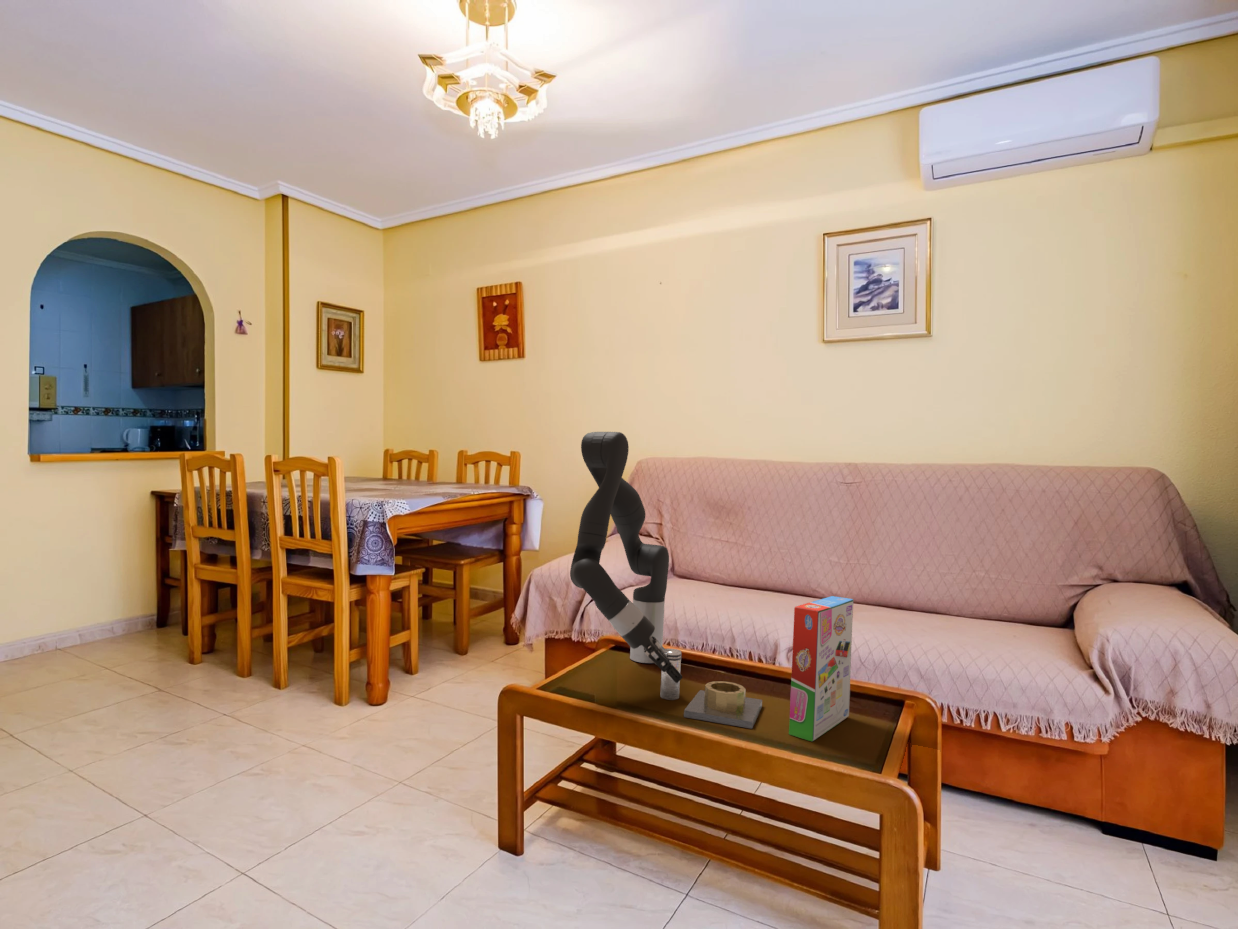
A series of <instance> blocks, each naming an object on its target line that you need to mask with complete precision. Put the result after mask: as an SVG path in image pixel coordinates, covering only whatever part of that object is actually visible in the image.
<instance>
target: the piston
mask: <svg viewBox="0 0 1238 929" xmlns="http://www.w3.org/2000/svg"><path fill="white" fill-rule="evenodd" d="M663 650H664V651H665V653H666V654H667V658H668V660H669V661H670V662H672V664H673V666H674V667H675V668H676V669H677V670H678V671H679V673H680V674H681V664H682V663H681V662H682V654H683V653H682V650H680V649H677V648H665V649H663ZM665 664H666V662H665V661H663V662H662V665H663V666H664V665H665ZM660 675H661V676H660V678H661V679H660V695H659V697H660V698H661V699H664V700H667V701H668V700H669V701H675V700H678V699H679V698H680V686H681V685H680V682H681V680H680V681H679V682H678V683H676V682H675V681H674V680H673V679H672V678H671V677H670V676H669V675H668V674H667V672H663V671H662V670H661V674H660Z"/></svg>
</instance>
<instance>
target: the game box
mask: <svg viewBox="0 0 1238 929" xmlns="http://www.w3.org/2000/svg"><path fill="white" fill-rule="evenodd" d="M793 611H794V612H793V631H792V632H793V636H792V655H791V656H792V657H791V676H790V680H791V682H790V696H789V697H790V699H789V701H790V702H789V720H788V721H789V722H788V723H789V724H788V735H789V736H792V737H796V738H799V739H802V740H805V741H808V742H814V741H815V740H817V739H818V738H820V737H821V736H823V735H825V733H827V732H828V731H830V730H831V729H833V728H834V727H837V725H839V724H840V723H841V722H843V721H844V720H846V719H848V718H849V717H850V700H851V699H850V697H851V673H852V672H851V668H852V645H853V644H852V641H853V640H852V639H853V618H854V599H853V598H849V597H848V598H847V597H843V596H842V597H841V596H836V595H835V596H833V595H831V596H828V597H823V598H821V599H817V600H813V601H810V602H806V603H803V604H800V605H796V606H794V610H793Z"/></svg>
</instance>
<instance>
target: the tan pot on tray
mask: <svg viewBox="0 0 1238 929" xmlns="http://www.w3.org/2000/svg"><path fill="white" fill-rule="evenodd" d="M746 691H747V690H746V687H744V686H743V685H741V684H739V683H736V682H731V681H721V680H720V681H713V680H712V681H710V682H707V683H706V684H705V685H704V690H703V689H700V690H699V691H698V692H697V693H696V694H695V696H694V697H693V698H692V700H691V701H690V702H689V703H688V705H687V706H686V707H685V708H684V710H683V718H687V719H693V720H699V721H705V722H710V723H716V724H722V725H726V726H732V727H733V726H734V727H739V728H745V729H751V730H753V728H754V725H755V723H756V721H757V718H758V717H759V715H760V712H761V710H762V707H763V699H761V698H760V699H759V698H752V697H747V696H746Z"/></svg>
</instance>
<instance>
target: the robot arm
mask: <svg viewBox="0 0 1238 929" xmlns="http://www.w3.org/2000/svg"><path fill="white" fill-rule="evenodd" d="M580 450H581V455H582V458H583V462H584V464H585V465H586V467H587V469H588V471H589V472H590V474H591V476H592V478H593V479H594V481H595V483H596V486H598V489H597V490H596V491H595V493H594V494H593V495H592V497H591V498H590V500H588V502H587V504H586V505H585V507H584V509H583V511H582V514H581V517H580V522H579V528H578V534H577V540H576V541H577V543H576V547H575V549H574V554H573V557H572V561H571V566H570V572H569V577H570V580H571V582H572V584H573V585H574V586H575V587H577V588H579V589H583V590H584V592H585V593H586V594H587V595H588V596H589V597H590V598H591V599H592V600H593V601H594V604H595V606H596V608H597V609H598V610H599V612H600V613H601V614H602V615H603V616H604V617H605V618H606V620H608V621H607V622H609V623H610V624H611V626H612V628H613V629H614V630H615V631H616V632H617V633H618V635H620V637H621V638H622V639H623V640H624V641H625V643H627V645H628V646H629V649H630V651H629V659H630V660H631V661H634V662H637V663H640V664H641V663H642V664H655V665H656V666H657V667H658V668H659V669H660V670H661V672H662V671H663V672H667V674H668V675H669V676H670V677H671V678H672V679H673V680H674V681H675V682H676V683H678V682H679V681H680V682H681V680H683V675H682V674H681V672H680V673H679V671H678V670H677V669H676V668H675V667H674V666H673V664H672V662H670V661H669V660H668V658H667V654H666V653H665V651H664V650H663V649H666V648H665V647H664V646H663V640H664V639H663V638H664V622H665V621H664V620H665V600H666V591H667V587H668V574H669V566H670V554H669V549H668V548H667V547H666V546H664V545H660V544H653V543H652V544H650V543H644V542H642V540H641V538H640V532H641V530H642V528H643V526H644V524H645V520H646V509H645V506H644V504H643V501H642V499H641V496H640V494H639V492H638V491H637V489H635V488H634V487H633V485H631V484H630V483H629V482H627V481H626V480H625V479H624V478H623V475H624V471H625V468H626V465H627V462H628V456H629V450H630V449H629V441H628V438H627V437H626V435H625V434H624V433H622V432H620V431H592V432H591V431H590V432H588V433H586V434H585V435H583V437H582V439H581V443H580ZM610 517H611V519H612V521H613V523H614V525H615V528H616V529H617V532H618V534H619V537H620V539H621V542H622V545H623V549H624V552H625V555H626V559H627V563H628V565H629V567H630V570H631V572H633V573H634V574H635V575H638V576H644V577H650V581H649V583H648V584H646V585H644V586H640V587H637V588H634V590H633V593H632V601H631V600H630V599H629V598H628V597H627V596H626V594H625V593H624V592H623V591H622V589H621V590H620V588H619V587H618V586H617V585H616V584H615V582H614V581H613V579H612V577H611V576H610V575H609V574H608V572H607V571H606V569H604V567H603V566H602V564H600V562H601V555H602V552H603V550H604V548H605V546H606V541H607V537H608V531H609V525H610V524H609V523H610ZM663 661H665V662H666V664H665V665H664V666H663V665H662V662H663Z"/></svg>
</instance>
